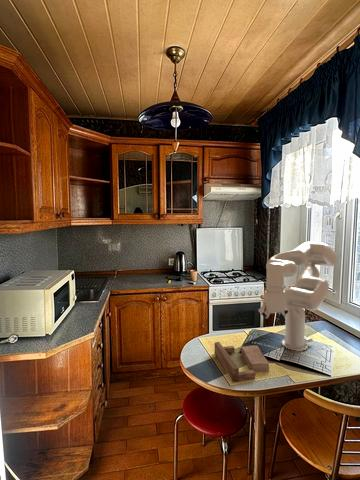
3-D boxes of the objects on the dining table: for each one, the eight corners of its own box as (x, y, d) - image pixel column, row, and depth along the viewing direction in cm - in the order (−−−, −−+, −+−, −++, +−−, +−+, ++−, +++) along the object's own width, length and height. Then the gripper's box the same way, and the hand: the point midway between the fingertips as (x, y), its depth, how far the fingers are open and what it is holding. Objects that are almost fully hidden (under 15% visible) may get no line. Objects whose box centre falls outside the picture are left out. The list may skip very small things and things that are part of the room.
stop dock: (232, 351, 138) (232, 340, 138) (255, 379, 115) (255, 365, 114) (214, 353, 136) (214, 342, 136) (233, 382, 113) (233, 369, 112)
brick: (270, 372, 120) (270, 362, 119) (251, 373, 119) (251, 363, 119) (256, 353, 136) (257, 344, 136) (240, 354, 136) (240, 345, 135)
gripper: (286, 285, 132) (285, 319, 133) (254, 287, 128) (253, 323, 130) (296, 289, 124) (295, 326, 126) (261, 292, 121) (261, 329, 123)
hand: (274, 324), depth 128 cm, fingers open, 7 cm apart
